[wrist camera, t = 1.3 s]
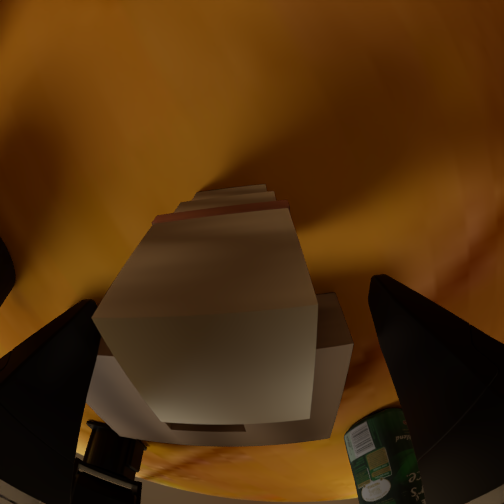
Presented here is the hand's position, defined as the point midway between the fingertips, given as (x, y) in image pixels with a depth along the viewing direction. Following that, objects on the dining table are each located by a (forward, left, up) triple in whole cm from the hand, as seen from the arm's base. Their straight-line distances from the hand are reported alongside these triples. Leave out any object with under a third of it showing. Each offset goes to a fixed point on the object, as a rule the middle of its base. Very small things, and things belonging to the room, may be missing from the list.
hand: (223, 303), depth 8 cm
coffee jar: (+13, -26, -6) cm, 30 cm away
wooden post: (0, 0, -6) cm, 6 cm away
